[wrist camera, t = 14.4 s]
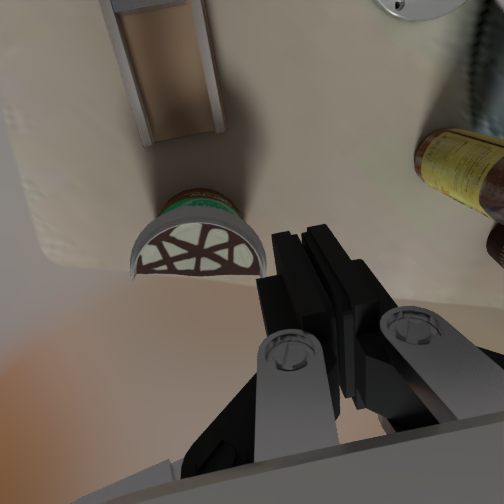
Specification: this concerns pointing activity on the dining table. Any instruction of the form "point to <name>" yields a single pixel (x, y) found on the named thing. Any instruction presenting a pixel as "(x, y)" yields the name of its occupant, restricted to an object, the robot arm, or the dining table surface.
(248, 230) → the food container
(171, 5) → the carriage
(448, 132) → the sauce bottle
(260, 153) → the dining table surface
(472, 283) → the dining table surface
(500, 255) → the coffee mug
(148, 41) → the rail
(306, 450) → the robot arm
